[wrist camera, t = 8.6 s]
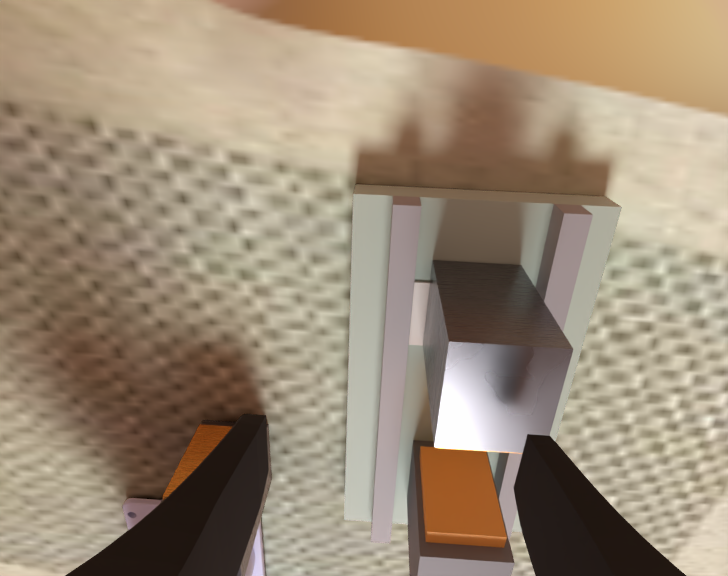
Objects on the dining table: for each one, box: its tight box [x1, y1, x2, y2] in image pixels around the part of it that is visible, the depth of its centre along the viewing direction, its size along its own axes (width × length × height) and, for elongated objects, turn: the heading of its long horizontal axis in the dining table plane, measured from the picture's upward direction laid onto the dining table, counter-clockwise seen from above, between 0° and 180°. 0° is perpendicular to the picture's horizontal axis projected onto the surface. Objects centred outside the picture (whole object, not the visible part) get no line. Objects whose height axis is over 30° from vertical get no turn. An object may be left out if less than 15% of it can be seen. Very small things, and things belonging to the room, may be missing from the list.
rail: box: [344, 184, 622, 576], centre depth 20 cm, size 18×10×8 cm, turn 178°
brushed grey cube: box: [423, 260, 573, 454], centre depth 17 cm, size 5×4×6 cm
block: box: [161, 420, 272, 576], centre depth 23 cm, size 5×4×6 cm
